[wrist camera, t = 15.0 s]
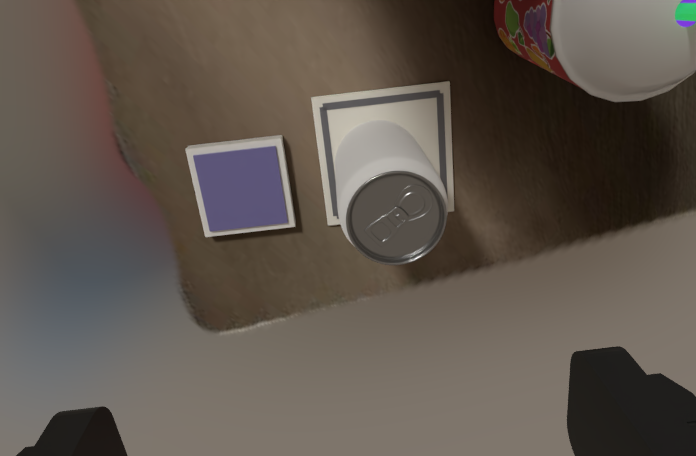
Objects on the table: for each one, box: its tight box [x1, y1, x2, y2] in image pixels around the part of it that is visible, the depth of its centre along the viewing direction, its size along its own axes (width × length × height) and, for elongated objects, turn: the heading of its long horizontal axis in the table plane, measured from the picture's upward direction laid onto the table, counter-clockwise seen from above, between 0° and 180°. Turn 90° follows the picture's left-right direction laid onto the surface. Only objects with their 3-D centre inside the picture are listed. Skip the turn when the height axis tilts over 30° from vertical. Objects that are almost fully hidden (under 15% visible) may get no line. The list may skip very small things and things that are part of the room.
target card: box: [311, 81, 454, 226], centre depth 41 cm, size 10×10×1 cm
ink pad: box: [185, 135, 296, 237], centre depth 41 cm, size 7×7×1 cm
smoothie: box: [494, 0, 696, 102], centre depth 29 cm, size 8×8×20 cm
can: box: [335, 120, 448, 265], centre depth 36 cm, size 6×6×12 cm
